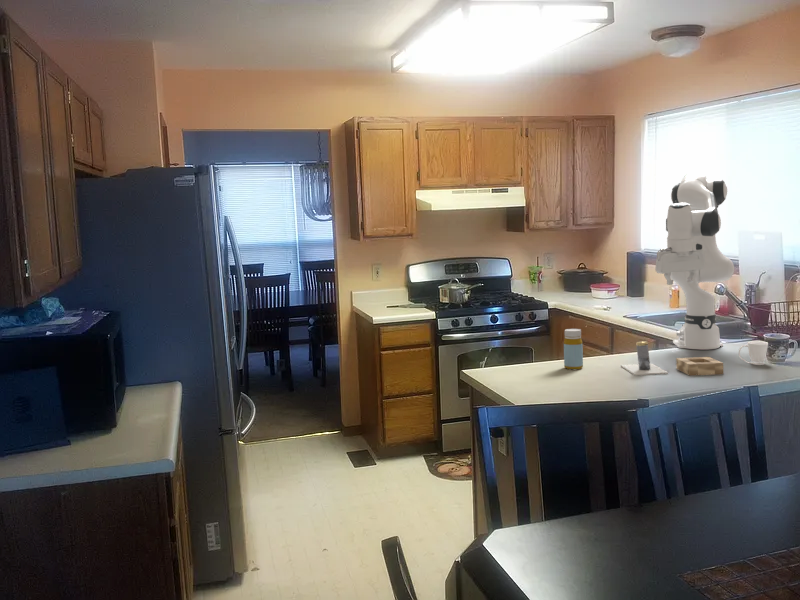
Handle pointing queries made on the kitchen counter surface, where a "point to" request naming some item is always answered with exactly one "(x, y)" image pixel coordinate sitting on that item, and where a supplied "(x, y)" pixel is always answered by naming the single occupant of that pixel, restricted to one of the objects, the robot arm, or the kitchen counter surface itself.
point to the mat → (635, 370)
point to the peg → (643, 355)
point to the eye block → (699, 366)
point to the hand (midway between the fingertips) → (680, 283)
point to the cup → (756, 351)
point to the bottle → (573, 349)
